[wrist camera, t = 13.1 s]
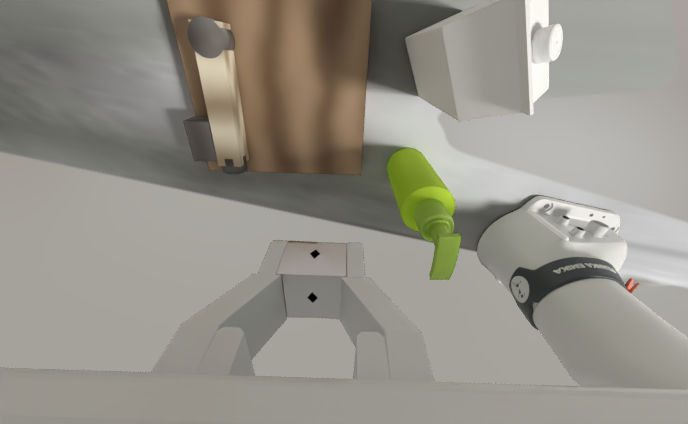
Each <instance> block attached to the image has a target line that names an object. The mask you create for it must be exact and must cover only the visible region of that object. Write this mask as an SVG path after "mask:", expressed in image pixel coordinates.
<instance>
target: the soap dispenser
mask: <svg viewBox="0 0 688 424" xmlns="http://www.w3.org/2000/svg"><path fill="white" fill-rule="evenodd" d="M387 173H388V176H389V180H390V183H391V186H392V189H393V192H394V195H395V198H396V202H397V205H398V208H399V211H400V214H401V217H402V220H403V222H404V223H405V225H406V226H408V227H409V228H410V229H412V230H414V231H418V232H420V234H421V236H422V237H423V238H424V239H425V240H427V241H430V242H434V244H435V252H434V258H433V263H432V267H431V271H430V274H429V275H430V280H447V279H450V277H451V275H452V273H453V271H454V268H455V265H456V261H457V257H458V252H459V247H460V242H461V235H460V234H459V233H452V232H453V230H454V221H453V219H452V216H453V214H454V211H455V200H454V197H453V196H452V194H451V193H450V192H449V190H448V189H447V187H446V186H445V185H444V183H443V182H442V181H441V179H440V178H439V176H438V175H437V174H436V172H435V171H434V170H433V168H432V167H431V165H430V164H429V163H428V161H427V160H426V159H425V157H424V156H423V154H422V153H421V152H419V151H418V150H416V149H413V148H404V149H400V150H398V151H397V152H395V153H394V154H393V155H392V156H391V157H390V159H389V161H388V163H387Z"/></svg>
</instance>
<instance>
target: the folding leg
mask: <svg viewBox="0 0 688 424" xmlns="http://www.w3.org/2000/svg"><path fill="white" fill-rule="evenodd" d="M188 21H189V25H188V30H187V34H188V39H189V42H190V44H191V46H192V48H193V49H194V50H195V55H196V60H197V64H198V69H199V74H200V79H201V84H202V89H203V93H204V98H205V103H206V108H207V113H208V118H209V122H210V127H211V132H212V137H213V142H214V147H215V152H216V156H217V161H218V166H222V169H223V172H225V173H228V174H238V173H242V172H245V171H247V169H248V167H247V161H248V160H249V156H248V149H247V141H246V134H245V127H244V120H243V113H242V106H241V99H240V92H239V85H238V78H237V71H236V64H235V57H234V48H235V39H234V35H233V33H232V31H231V28H230V24H227V23H223V22H221V21H219V20H215V19H211V18H207V17H203V16H199V17H195V18H194V19H192V20H189V19H188Z"/></svg>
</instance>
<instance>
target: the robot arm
mask: <svg viewBox="0 0 688 424" xmlns="http://www.w3.org/2000/svg"><path fill="white" fill-rule="evenodd" d="M544 205H545V206H544ZM619 227H620V217H619V215H617V214H616V213H614V212H611V211H607V210H603V209H598V208H594V207H589V206H585V205H581V204H576V203H572V202H567V201H563V200H558V199H554V198H549V197H545V196H536V197H534V198H533V199H531V200H530V201H528V202H527V203H526V204H525V205H524V206H522V207H521V208H520V209H518V210H516V211H514V212H511V213H509V214H507V215H505V216H503V217H501V218H500V219H498V220H497V221H495V222H494V223H493V224H492V225H490V226H489V227H488V228H487V230H486V231H485V232H484V233H483V235H482V236H481V238H480V240H479V243H478V247H477V255H478V258H479V260H480V262H481V263H482V264H483V265H484V266H485V267H486V268H487V269H488V270H489V271H490V272H492V273H493V275H494V276H495V278H496V279H497V281H498V282H499V283H500V284H503V285H504V286H505V288H506V289H507V290H508V291H509V292H510V293H511V294H512V296H513V297H514V299H515V301H516V303H517V305H518V307H519V308H520V309H521V311H522V312H523V314H524V315H525V317H526V319H527V320H528V321H529V322H530V323H531V325H532V326H533V327H534V328H536V329H537V330H539V331H540V333H541V334H542V336H543V337H544V339H545V340H546V341H547V343H548V344H549V346H550V347H551V349H552V350H553V352H554V353H555V355H556V356H557V357H558V359H559V360H560V362H561V363H562V365H563V366H564V367H565V369H566V370H567V372H568V373H569V375H570V376H571V377H572V379H573V380H574V381H576V382H577V383H578V384H579V385H581V386H550V385H520V384H519V385H517V384H489V383H488V384H486V383H458V382H457V383H456V382H435V381H434V378H433V374H432V370H431V366H430V362H429V358H428V355H427V351H426V347H425V343H424V340H423V335H422V332H421V331H420V330H419V329H418V328H417V327H416V326H415V325H414V324H413V323H412V322H411V321H410V320H409V319H408V318H407V317H406V315H405V314H403V312H402V311H401V310H400V309H399V308H398V307H397V306H396V305H395V304H394V303H393V302H392V301H391V300H390V299H389V297H388V296H387V295H386V294H385V293H384V292H383V291H382V290H381V289H380V288H379V287H378V286H377V285H376V284H375V283H374V282H373V281H372V280H371V279H370V278H365V269H364V257H363V256H364V255H363V244H362V243H318V242H304V241H283V240H273V241H272V242H271V243H270V246H269V248H268V251H267V253H266V255H265V258H264V260H263V262H262V265H261V267H260V270H259V272H258V274H252V275H251V276H249V277H248V278H247V279H245V280H244V281H242V282H241V283H239V284H238V285H236V286H235V287H234V288H232V289H231V290H229V291H228V292H226V293H225V294H224V295H222V296H221V297H219V298H218V299H216V300H215V301H214V302H212V303H211V304H209V305H208V306H207V307H205V308H204V309H202V310H201V311H199V312H198V313H196V314H195V315H193V316H192V317H191V318H189V319H188V320H186V321H185V322H183V323H182V324H181V325H180V327H179V328H178V330H177V331H176V333H175V335H174V336H173V338H172V339H171V341H170V343H169V344H168V346H167V347H166V349H165V351H164V352H163V354H162V356H161V357H160V359H159V360H158V362H157V363H156V365H155V367H154V368H153V370H152V371H151V372H148V373H147V372H121V371H90V370H60V369H58V370H57V369H29V368H0V424H688V337H686V336H685V335H684V334H682V333H681V332H679V331H678V330H677V329H675V328H674V327H673V326H671V325H670V324H669V323H667V322H666V321H665V320H663V319H662V318H661V317H659V316H658V315H657V314H655V313H654V312H653V311H652V310H650V309H649V308H648V307H647V306H645V305H644V304H643V303H642V302H640V301H639V300H638V299H637V298H636V297H634V296H633V295H632V293H633V291H634V290H635V289H636V288H637V286H638V285H639V283H637V284H635V285H634V286H633V287H632V288H631V289H630V287H631V286H632V283H633V279H632V278H630V279H629V280H628V281H627V283H626V284H624V282H623V281H622V279H621V277H620V276H619V274H618V272H619V270H620V268H621V266H622V264H623V262H624V260H625V258H626V256H627V251H628V248H627V244H626V242H625V241H624V239H622V238H621V237H620V236H619V235H618V234H617V233H618V231H619ZM286 317H301V318H304V317H305V318H306V317H307V318H308V317H309V318H330V319H340V321H341V323H342V325H343V327H344V328H345V330H346V332H347V333H348V335H349V337H350V339H351V340H352V342H353V344H354V346H355V347H356V351H355V362H354V373H353V379H334V378H331V379H330V378H302V377H272V376H270V377H269V376H255V373H254V369H253V365H252V361H251V360H252V359H253V357H254V356H255V355H256V354H257V353H258V352H259V351H260V349H261V348H262V347H263V346H264V345H265V344H266V342H267V341H268V340H269V339H270V338H271V337H272V335H273V334H274V333H275V332H276V331H277V330H278V328H279V327H280V326H281V325H282V324H283V323H284V322H285V320H286V319H287V318H286Z"/></svg>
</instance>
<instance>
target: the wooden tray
mask: <svg viewBox="0 0 688 424" xmlns="http://www.w3.org/2000/svg"><path fill="white" fill-rule="evenodd" d="M167 4H168V8H169V12H170V16H171V20H172V24H173V28H174V32H175V36H176V40H177V44H178V48H179V52H180V55H181V59H182V63H183V67H184V71H185V75H186V79H187V83H188V87H189V91H190V95H191V99H192V103H193V107H194V111H195V115H196V116H195V117H193V118H190V119H188V120H185V121H183V122H184V125H185V129H186V133H187V136H188V140H189V143H190V147H191V151H192V154H193V158H194V161H207V163H208V167H209V170H221V171H223V169H222V166H218V161H217V156H216V152H215V147H214V142H213V137H212V132H211V127H210V122H209V118H208V113H207V108H206V103H205V98H204V93H203V89H202V84H201V79H200V74H199V69H198V64H197V60H196V55H195V50H194V49H193V48H192V46H191V44H190V42H189V39H188V34H187V30H188V25H189V21H188V19H189V20H192V19H194V18H195V17H199V16H203V17H207V18H211V19H215V20H219V21H221V22H223V23H227V24H230V28H231V31H232V33H233V35H234V39H235V48H234V57H235V64H236V71H237V78H238V85H239V92H240V99H241V106H242V113H243V120H244V127H245V134H246V141H247V149H248V156H249V160H248V161H247V167H248V169H247V171H253V172H284V173H315V174H346V175H361V163H362V147H363V132H364V116H365V100H366V85H367V69H368V54H369V38H370V23H371V7H372V0H167Z"/></svg>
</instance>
